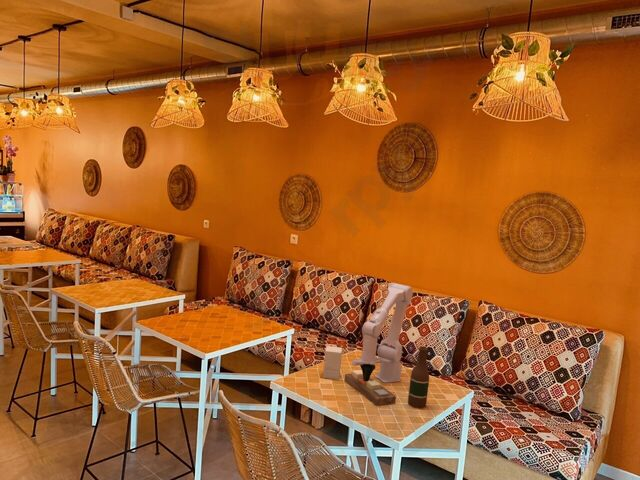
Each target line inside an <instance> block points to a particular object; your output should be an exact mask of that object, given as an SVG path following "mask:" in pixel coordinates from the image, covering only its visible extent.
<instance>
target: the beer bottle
mask: <svg viewBox="0 0 640 480" xmlns="http://www.w3.org/2000/svg"><path fill="white" fill-rule="evenodd" d="M428 351H429V349H428V347H426V346H423V345H422V346H419V348H418V356H417V362H416V365H415V366H414V367H413V368H412V370H411V373H410V380H409V387H408V389H409V390H408V395H407V396H408V397H407V404H408V406H411V407H412V408H413V409H415V408H416V409H423V408H426V406H427V400H428V392H429V386H430V385H429V384H430V374H429V369H428V368H427V355H428Z"/></svg>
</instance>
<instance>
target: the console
mask: <svg viewBox="0 0 640 480" xmlns="http://www.w3.org/2000/svg"><path fill="white" fill-rule="evenodd" d="M369 379H370V380H371V381H375V380H374V379H372V378H371V377H370V378H369ZM344 382H346V383H347V384H348V385H349V386H351V387H352V388H353V389H355V391H357V392H358V393H359V394H360V395H362V396H363V397H365V398H366V399H367V400H368V401H370V402H371V403H372V404H373V405H374V406H376V407H379V406H386V405H394V404H396V401H397V396H396V395H395V394H393V393H392V392H390V391H389V390H388V389H387V388H385V387H383V386H382V385H381V389H383V390H385V391H386V392H388V393H389V396H384V397H379V396H378V395H377V394H375V393H374V390H372V391H371V390H370V389H369V388H367V387H366V385H363V384H362V383H361V382H359V379H356V378H354V377H353V376H352V372H351V373H345V374H344Z"/></svg>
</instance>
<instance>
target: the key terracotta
mask: <svg viewBox="0 0 640 480" xmlns="http://www.w3.org/2000/svg"><path fill="white" fill-rule="evenodd" d="M369 381H371V380H370V379H369ZM359 382H361V383H362V384H363V385H366V383H367V381H364V380H363V379H359Z"/></svg>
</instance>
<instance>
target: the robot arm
mask: <svg viewBox="0 0 640 480" xmlns="http://www.w3.org/2000/svg"><path fill="white" fill-rule="evenodd" d="M413 295H414V291H413V288H412V286H410V285H406V284H400V283H396V282H391V283H390V284H389V285H388V288H387V296H386V297H385V299H384V301H383V303H382V305H381V306H380V308H379V307H378V308H377V309H376V310H375V311H374V313H373V314H372V315H371V318H370V319H369V320H367V321H366V322H364V324H363V325H362V328H361V333H362V338H363V343H362V350H361V351H362V352H361V358H358V359H352V361H351V362H352V363H351V364H352V366H354V367H356V366H360V370H361V371H362V373H363V380H364V381H369V378H371V376H372V374H373V372H374V370H375V369H376V365H375V364H379V372H378V374H375V375H374V377H375V378H377V379H378V380H380V381H381V382H382V383H383V384H384V383H395V382H402V379H401V374H402V363H401V361H400V360H401V358H402V356H403V355H402V353H403V346H402V344H401V343H400V341H399V339H400V335H401V330H402V327H403V325H404V320H405V316H406V314H407V313H406V312H407V309H408V306H409V305H410V304H411V302H412V298H413ZM394 305H395V308H394V311H393V316H392V318H391V322H390V327H389V330H388V334H387V336H386V338H384V339H382V340H381V342H380V344H379V346H378V348H377V345H378V337H380V335H381V334H382V329H383V325H384V324H385V322H386V320H387V319H388V316H389V314H388V312H390V310H391V309H392V308H393V307H394ZM376 354H377V355H376ZM376 356H378V357H376Z"/></svg>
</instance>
